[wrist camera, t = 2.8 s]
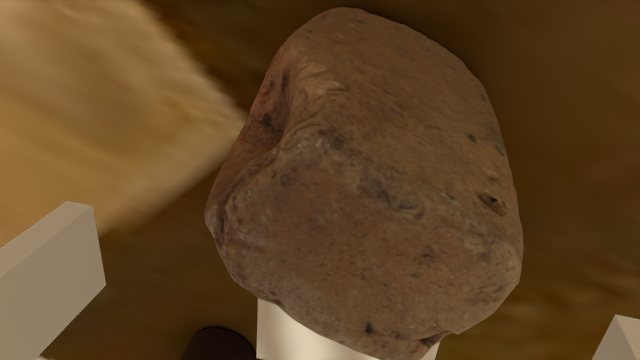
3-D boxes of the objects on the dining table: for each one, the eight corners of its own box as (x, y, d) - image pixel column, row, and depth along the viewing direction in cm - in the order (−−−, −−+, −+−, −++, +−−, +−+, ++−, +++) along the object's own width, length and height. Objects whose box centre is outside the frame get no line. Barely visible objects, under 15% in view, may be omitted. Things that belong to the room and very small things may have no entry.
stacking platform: (270, 323, 43) (256, 357, 39) (277, 191, 36) (260, 218, 33) (424, 358, 41) (423, 397, 37) (460, 225, 34) (464, 258, 31)
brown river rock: (493, 74, 29) (583, 279, 12) (422, 164, 33) (409, 420, 15) (345, -22, 28) (207, 44, 11) (289, 81, 32) (120, 252, 15)
